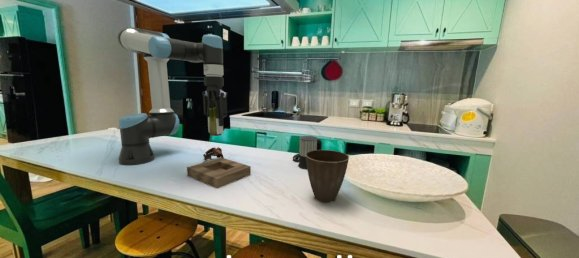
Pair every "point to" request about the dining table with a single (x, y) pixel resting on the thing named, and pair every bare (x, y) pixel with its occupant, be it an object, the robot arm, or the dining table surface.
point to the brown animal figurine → (213, 153)
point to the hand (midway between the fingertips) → (215, 132)
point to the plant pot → (326, 173)
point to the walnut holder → (218, 172)
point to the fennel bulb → (213, 122)
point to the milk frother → (306, 149)
